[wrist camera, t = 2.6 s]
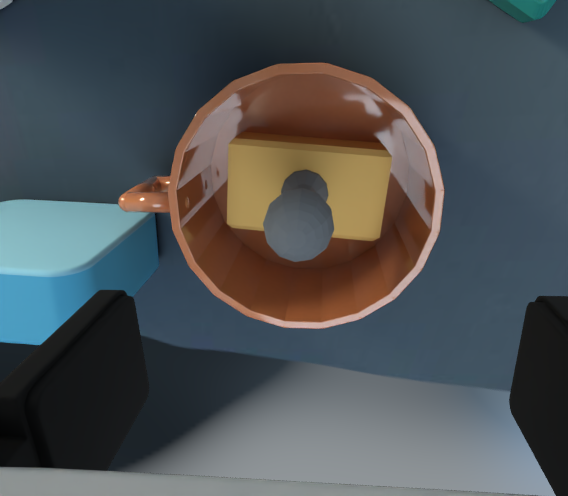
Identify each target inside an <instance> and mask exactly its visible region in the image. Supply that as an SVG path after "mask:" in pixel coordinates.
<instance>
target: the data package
mask: <svg viewBox="0 0 568 496" xmlns="http://www.w3.org/2000/svg"><path fill="white" fill-rule="evenodd" d="M158 267H159V256H158V244H157V233H156V221H155V213H134V212H125V211H123V210H122V209H121V208H120V207H119V204H104V203H85V202H65V201H46V200H26V199H21V200H10V201H4V202H0V342H7V343H19V344H20V343H21V344H34V345H41V344H42V343H43V342H44V341H45V340H46V339H47V338H48V337H50V336H51V335H52V334H53V333H54V332H55V331H56V330H57V329H58V328H59V327H60V326H61V325H62V324H63V323H64V322H66V321H67V320H68V319H69V318H70V317H71V316H72V315H73V314H74V313H75V312H76V311H77V310H78V309H79V308H80V307H82V306H83V305H84V304H85V303H86V302H87V301H88V300H89V299H90V298H91V297H92V296H93V295H94V294H95V293H96V292H98V291H99V290H124V291H125V292H126V293H127V295H128V296H132V297H133V296H134V295H135V294H136V293H137V292H138V290H139V289H140V288H141V287H142V286H143V285H144V283H145V282H146V281H147V280H148V279H149V278H150V277H151V275H152V274H153V273H154V272H155V271H156V270H157V268H158Z"/></svg>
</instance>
